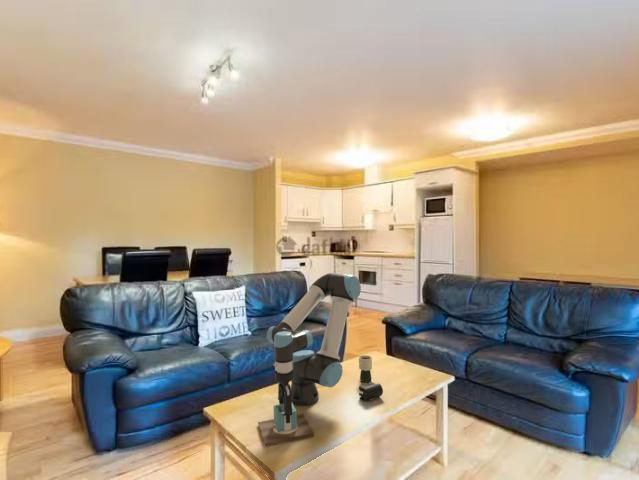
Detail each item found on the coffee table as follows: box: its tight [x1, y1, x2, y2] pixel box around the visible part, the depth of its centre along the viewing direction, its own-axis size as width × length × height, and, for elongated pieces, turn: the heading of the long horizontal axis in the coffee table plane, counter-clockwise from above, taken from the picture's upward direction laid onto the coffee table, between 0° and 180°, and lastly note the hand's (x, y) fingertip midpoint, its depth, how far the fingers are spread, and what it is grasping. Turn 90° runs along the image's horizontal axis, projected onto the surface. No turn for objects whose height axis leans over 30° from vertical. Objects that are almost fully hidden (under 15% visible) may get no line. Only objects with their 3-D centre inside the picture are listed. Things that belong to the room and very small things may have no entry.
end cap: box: [358, 381, 384, 403], centre depth 175 cm, size 10×7×7 cm
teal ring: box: [273, 403, 298, 432], centre depth 148 cm, size 8×8×7 cm
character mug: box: [358, 354, 373, 383], centre depth 196 cm, size 11×7×13 cm, turn 137°
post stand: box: [257, 407, 315, 447], centre depth 148 cm, size 16×20×10 cm
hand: (285, 424), depth 148 cm, fingers closed on teal ring, 8 cm apart
